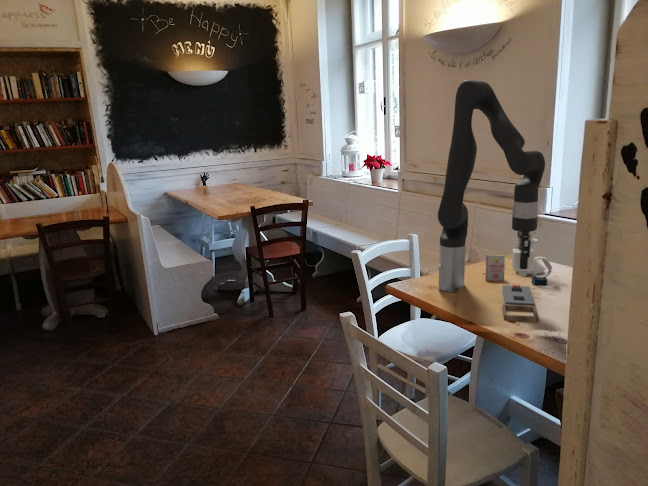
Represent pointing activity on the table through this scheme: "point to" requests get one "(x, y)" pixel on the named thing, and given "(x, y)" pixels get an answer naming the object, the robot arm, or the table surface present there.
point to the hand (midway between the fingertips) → (522, 266)
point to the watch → (541, 279)
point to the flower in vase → (537, 266)
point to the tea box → (495, 267)
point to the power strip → (517, 295)
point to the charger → (517, 262)
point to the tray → (520, 317)
